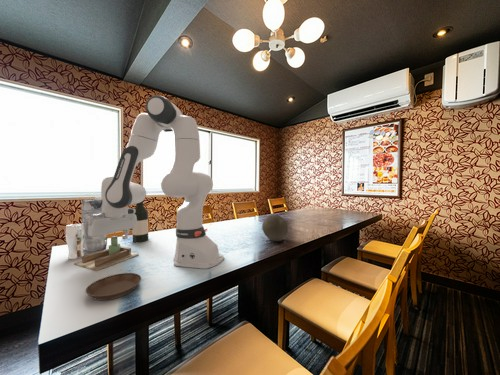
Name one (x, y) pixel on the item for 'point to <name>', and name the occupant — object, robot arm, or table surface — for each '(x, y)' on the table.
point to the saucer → (113, 286)
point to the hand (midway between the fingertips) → (115, 241)
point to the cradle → (105, 258)
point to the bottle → (114, 246)
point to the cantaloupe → (275, 228)
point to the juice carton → (87, 211)
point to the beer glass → (75, 240)
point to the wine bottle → (141, 224)
